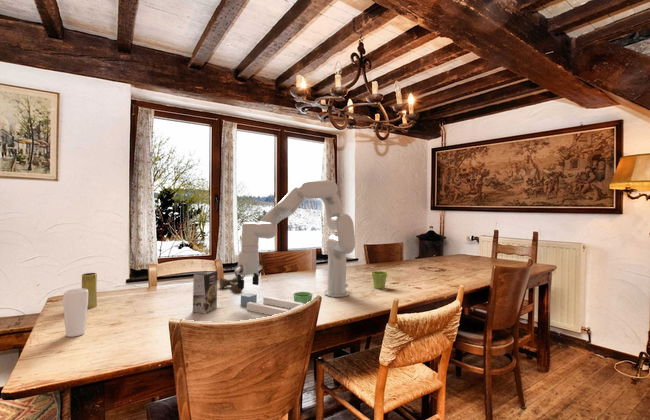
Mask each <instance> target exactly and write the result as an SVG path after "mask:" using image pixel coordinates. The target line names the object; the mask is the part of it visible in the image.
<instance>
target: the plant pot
mask: <svg viewBox="0 0 650 420" xmlns="http://www.w3.org/2000/svg"><path fill="white" fill-rule="evenodd" d="M370 274H371V276H372V282H373V283H372V284H373V289H377V290H379V289H382V290H383V288H384V289H385V288H386V281H387V277H388V274H389V273H388V271H387V272H386V271H383V270H382V271H381V270H378V271H377V270H376V271H375V270H374V271H371V272H370Z"/></svg>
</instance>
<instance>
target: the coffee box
mask: <svg viewBox="0 0 650 420" xmlns="http://www.w3.org/2000/svg"><path fill="white" fill-rule="evenodd" d="M192 282H193V284H192V288H193V289H192V313H199V314H207V313H208V312H211V311H212V310H215V309H216V308H218V307H217V306H218V304H217V303H218V271H217V270H204V271H200V272H198V273H194V274H193V281H192Z"/></svg>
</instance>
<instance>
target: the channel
mask: <svg viewBox="0 0 650 420" xmlns="http://www.w3.org/2000/svg"><path fill="white" fill-rule="evenodd" d="M262 299H263V302H262V303H258V302H257V303H253V302H248V303H247V306H246V310H247V311H250V312H254V313H259V314H263V313H264V315H268V314H269V315H268V316H272V315H274V314H279V313H283V312H286V311H289V310H292V309H294V308H297V307H300V306H302V305H304V304H305V303H300V302H294V300H289V299H283V298H277V297H272V296H266V295H265V296H264V297H262ZM273 305H275V306H273ZM277 306H280V307H277ZM282 307H285V308H282ZM287 308H289V309H287Z"/></svg>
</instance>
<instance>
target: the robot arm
mask: <svg viewBox="0 0 650 420" xmlns="http://www.w3.org/2000/svg"><path fill="white" fill-rule="evenodd" d="M338 190H339V188H338V185H337V182H335V181H333V180H329V179H328V180H326V179H325V180H305V181H300V182H297V183H296V184H295V185H293V186H292V188H291V189H290V190H289V191H288V192H287V193H286V195H284V197H283V198H282V199H281V200H280V201H279V202H278V203H276V205H275V206H273V208H271V209H270V210H269V211H268V212H267V213H265V214H264V216H263V217H262V218H261V219H260V220H259V222H256V221H255V222H251V221H246V222H243V224H242V227H241V229H242V230H241V248H240V249H241V252H240V253H239V256H238V260H237V268H236V269H235V270H234V274H235V275H234V276H235V277H237V279H238V288H239V289H243V290H244V289H245V280H244V279H245V277H246V276H249V275H252V285H254V286H255V285H256V286H259V284H260V283H259V282H260V280H259V279H260V276H261V273H262V269H263V265H261V264H260V254H259V238H260V239H268V240H269V239H272V238H274V237H276V235H277V233H278V228H277V225H278V224H279V223H280V222H281V221H282V220H284V219H286V218H288V217H290V216H292V215H293V214H294V213H296V211H297V210H298V209H299V207H300V206H301V205H302V204H303V203H304V202H305V200H307V199H308V200H309V199H310V200H312V199H313V200H314V199H320V200H321V201H322V202H323V204H324V208H325V214H326V215H325V217H326V224H327V228H328V229H329V230H330V231H332V232H336V233H332V234H331V235H329V237H328V238H327V240H326V250H327V257H328V258H327V289H326V290H324V295H325V296H327V297H332V298H343V297H347V296H349V293H350V292H349V291H348V290H346V289H347V288H348V287H349V285H348V283H347V256H346V255H349V254H351V253H352V252H354V250H355V248H356V236H355V226H354V221H353V219H352V217H351V216H350V215H349V214H347V213H344V212H343V207H342V201H341V198H340V197H339V195H338Z"/></svg>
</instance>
